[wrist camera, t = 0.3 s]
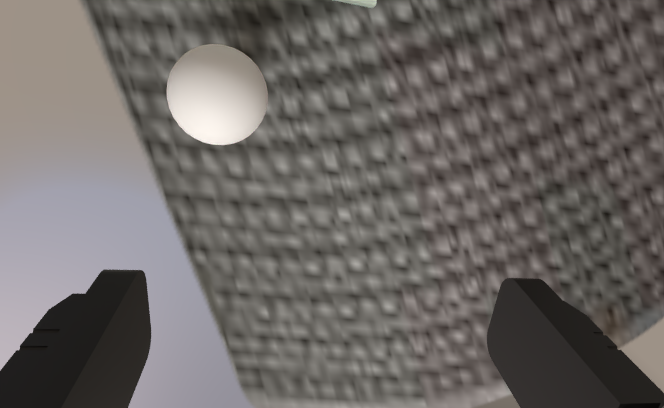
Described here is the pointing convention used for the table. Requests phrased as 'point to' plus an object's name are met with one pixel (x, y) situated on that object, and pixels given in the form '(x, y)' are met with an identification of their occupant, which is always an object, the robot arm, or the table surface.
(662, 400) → the robot arm
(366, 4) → the parts tray
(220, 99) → the lightbulb
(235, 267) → the table surface
